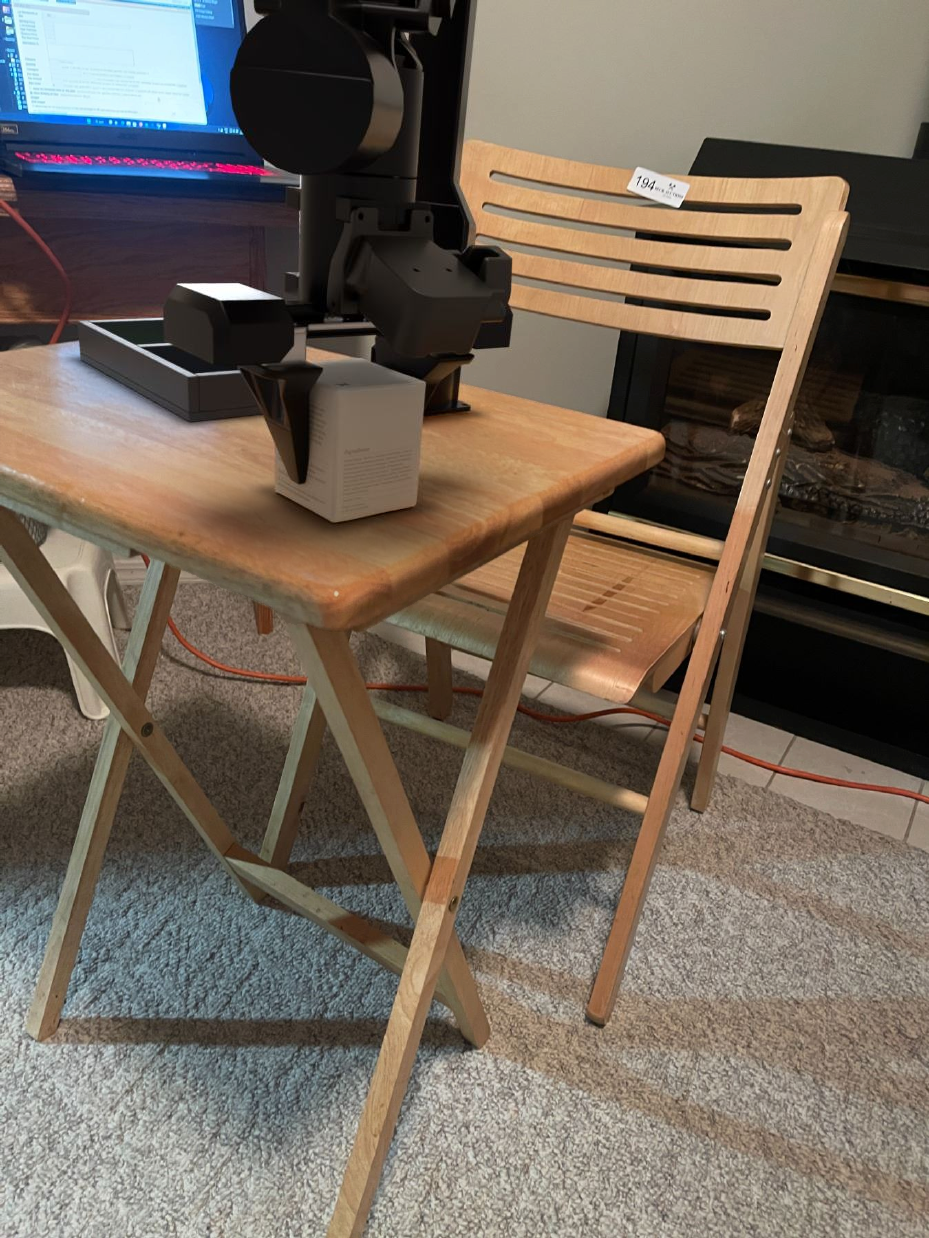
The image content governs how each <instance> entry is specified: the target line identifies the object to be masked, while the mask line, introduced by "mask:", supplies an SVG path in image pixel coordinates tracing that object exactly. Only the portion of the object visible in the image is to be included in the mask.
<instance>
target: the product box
mask: <svg viewBox="0 0 929 1238" xmlns="http://www.w3.org/2000/svg"><path fill="white" fill-rule="evenodd" d="M309 362H310V363H313V364H315V365H318V366H320V367H323V372H322V373H321V375H320V377H319V378H318V380H317V382H316V383H315V385H314V386H313V388H312V390H311V392H310V398H309V399H310V408H309V463H308V470H307V478H306V482H305V484H300V485H299V484H297V483H295V482H293V481H292V480H291V479H290V478H289V476H288V473H287V471H286V469H285V466H284V464H283V461H282V459H281V457H280V454H279V452H278V450H277V447H276V445H275V444H274V491H275V492H276V493H278V494H280V495H281V496H283V497H286V498H287V499H290V501H293V502H294V503H297V504H298V505H300V506H303V507H304V508H306V509H307V510H310V511H312V512H313V513H315V514H316V515H319V516H320V517H322V518H323V519H325V520H327V521H329V522H331V523H339V522H346V521H351V520H356V519H361V518H365V517H369V516H373V515H378V514H383V513H386V512H387V513H388V512H392V511H397V510H401V509H402V510H403V509H408V508H411V507H415V506H416V505H417V502H418V489H419V488H418V487H419V477H420V465H421V464H420V463H421V450H422V438H423V437H422V436H423V422H424V421H423V420H424V417H423V411H424V398H425V386H426V383H425V382H424V381H422V380H419V379H416V378H413V377H410V376H408V375H405V374H402V373H399V372H396V371H394V370H391V369H388V368H386V367H383V366H380V365H378V364H375V363H372V362H371V360H367V359H365V358H362V357H349V358H338V359H337V358H336V359H329V360H318V361H309Z"/></svg>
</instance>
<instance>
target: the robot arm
mask: <svg viewBox="0 0 929 1238" xmlns="http://www.w3.org/2000/svg"><path fill="white" fill-rule="evenodd" d="M252 1H253V8H254V12H255V14H257V15H259V16H260V17H261V16H262V18H260V19H259V20H258V21H257V22H256V23H255V24H254V25H253V26H252V27H251V28H250V29H249V30H248V32H247V33H246V34H245V36H244V38H243V40H242V42H241V43H240V45H239V47H238V49H237V51H236V55H235V59H234V62H233V66H232V68H231V69H230V72H229V95H230V101H231V102H230V103H231V108H232V113H233V114H234V117H235V121H236V123H237V126H238V128H239V131H240V132H241V133H242V135H243V137H244V138H245V140H246V141H247V143H248V145H249V146H250V147H251V148H252V149H253V150H254V151H255V152H256V153H257V155H258V156H259V157H260V158H261V159H262V160H264V161H265V162H267V163H269V165H271V166H273V167H274V168H276V169H278V170H281V171H284V172H286V173H289V174H292V175H296V176H299V187H298V186H285V209H289V210H293V211H297V212H299V217H298V218H299V222H298V223H299V224H298V225H299V226H298V271H295V272H293V271H288V272H287V271H284V293H286V294H287V295H292V296H293V297H294V296H295V297H297V300H286V299H285V298H283V297H280V296H276V295H274V294H271V293H268V292H265V291H263V290H260V289H256V288H254V287H251V286H248V285H244V284H242V283H238V282H236V283H235V282H233V283H231V282H229V283H175V285H174V287H173V288H172V289H171V291H170V293H169V294H168V295H167V297H166V300H165V302H164V305H162V316H163V317H162V318H163V321H164V341H165V342H167V343H169V344H171V345H174V346H176V347H178V348H180V349H182V350H184V351H186V352H188V353H191V354H193V355H195V356H197V357H199V358H201V359H203V360H205V361H207V362H210V363H212V364H214V365H223V366H237V367H238V369H239V371H240V373H241V374H242V376H243V378H244V380H245V382H246V383H247V385H248V387H249V389H250V391H251V392H252V394H253V396H254V398H255V400H256V402H257V404H258V406H259V408H260V410H261V412H262V414H261V415H262V417H263V418H264V421H265V423H266V426H267V428H268V430H269V431H268V432H269V433H270V435H271V437H272V440H273V442H274V446H275V445H276V447H277V450H278V452H279V454H280V457H281V459H282V461H283V464H284V466H285V469H286V471H287V473H288V476H289V478H290V479H291V480H292V481H293V482H295V483H297V484H299V485H300V484H305V482H306V478H307V470H308V463H309V408H310V399H309V398H310V392H311V390H312V388H313V386H314V385H315V383H316V382H317V380H318V378H319V377H320V375H321V373H322V372H323V367H320V366H318V365H315V364H313V363H310V362H311V361H308V360H307V340H309V339H310V340H311V339H312V340H313V339H329V338H331V339H332V338H351V337H366V336H367V337H368V336H374V343H373V344H372V345H371V349H370V362H372V363H375V364H378V365H380V366H383V367H386V368H388V369H391V370H394V371H396V372H399V373H402V374H405V375H408V376H410V377H413V378H416V379H419V380H422V381H424V382H425V383H426V386H425V398H424V411H423V418H428V417H435V416H437V417H438V416H443V415H445V416H446V415H452V414H460V413H468V412H469V413H470V412H471V411H472V405H471V404H469V403H467V402H464V401H462V400H459V397H460V396H459V395H460V384H461V376H462V375H461V374H462V366H463V365H469V364H471V363H472V362H473V361H474V359H475V357H476V355H475V354H474V353H471V352H472V349H473V350H491V349H492V350H493V349H503V348H504V349H506V348H510V346H511V338H512V330H513V321H514V312H513V311H512V308H511V306H510V304H509V302H510V299H511V296H512V281H513V280H512V279H513V257H512V256H510V255H509V254H508V253H507V252H506V251H505V250H503V249H502V248H501V247H500V246H497V245H493V244H491V245H489V244H476V239H477V237H476V236H477V224H476V221H475V219H474V216H473V214H472V211H471V209H470V206H469V205H468V202H467V199H466V197H465V195H464V191H463V190H462V186H461V183H460V182H461V171H462V170H461V169H462V160H463V151H464V141H465V140H464V139H465V130H466V121H467V111H468V110H467V109H468V101H469V100H468V99H469V92H470V91H469V89H470V79H471V72H472V71H471V70H472V68H471V67H472V61H473V51H474V39H475V30H476V29H475V28H476V21H477V20H476V19H477V9H478V0H252ZM406 34H408V37H407V36H406Z"/></svg>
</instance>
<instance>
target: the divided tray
mask: <svg viewBox="0 0 929 1238" xmlns="http://www.w3.org/2000/svg"><path fill="white" fill-rule="evenodd" d="M76 323H77V335H78V345H79V359H80V360H81V361H82V362H84V363H86V364H88V365H89V366H92V367H93V368H94V369H96V370H99V372H101V373H103V374H105V375H107V376H109V377H111V378H112V379H114V380H116V381H118V382H119V383H121V384H123V385H124V386H126V387H128V388H129V389H132V391H135V392H137V393H138V394H139V395H142V396H144V397H145V398H147V399H149V400H151V401H152V402H154V403H156V404H158V405H159V406H161V407H163V408H164V409H167V410H168V411H170V412H171V413H173V414H175V415H177V416H178V417H181V418H182V419H184V420H185V421H187V422H189V423H192V422H201V421H202V422H203V421H209V420H210V421H211V420H219V419H228V418H237V417H248V416H257V415H262V412H261V410H260V408H259V406H258V404H257V402H256V400H255V398H254V396H253V394H252V392H251V391H250V389H249V387H248V385H247V383H246V382H245V380H244V378H243V376H242V374H241V373H240V371H239V369H238V367H237V366H223V365H214V364H212V363H210V362H207V361H205V360H203V359H201V358H199V357H197V356H195V355H193V354H191V353H188V352H186V351H184V350H182V349H180V348H178V347H176V346H174V345H171V344H169V343H167V342H165V341H164V321H163V317H151V318H150V317H149V318H121V319H118V318H117V319H93V320H91V319H90V320H77V322H76Z"/></svg>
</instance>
